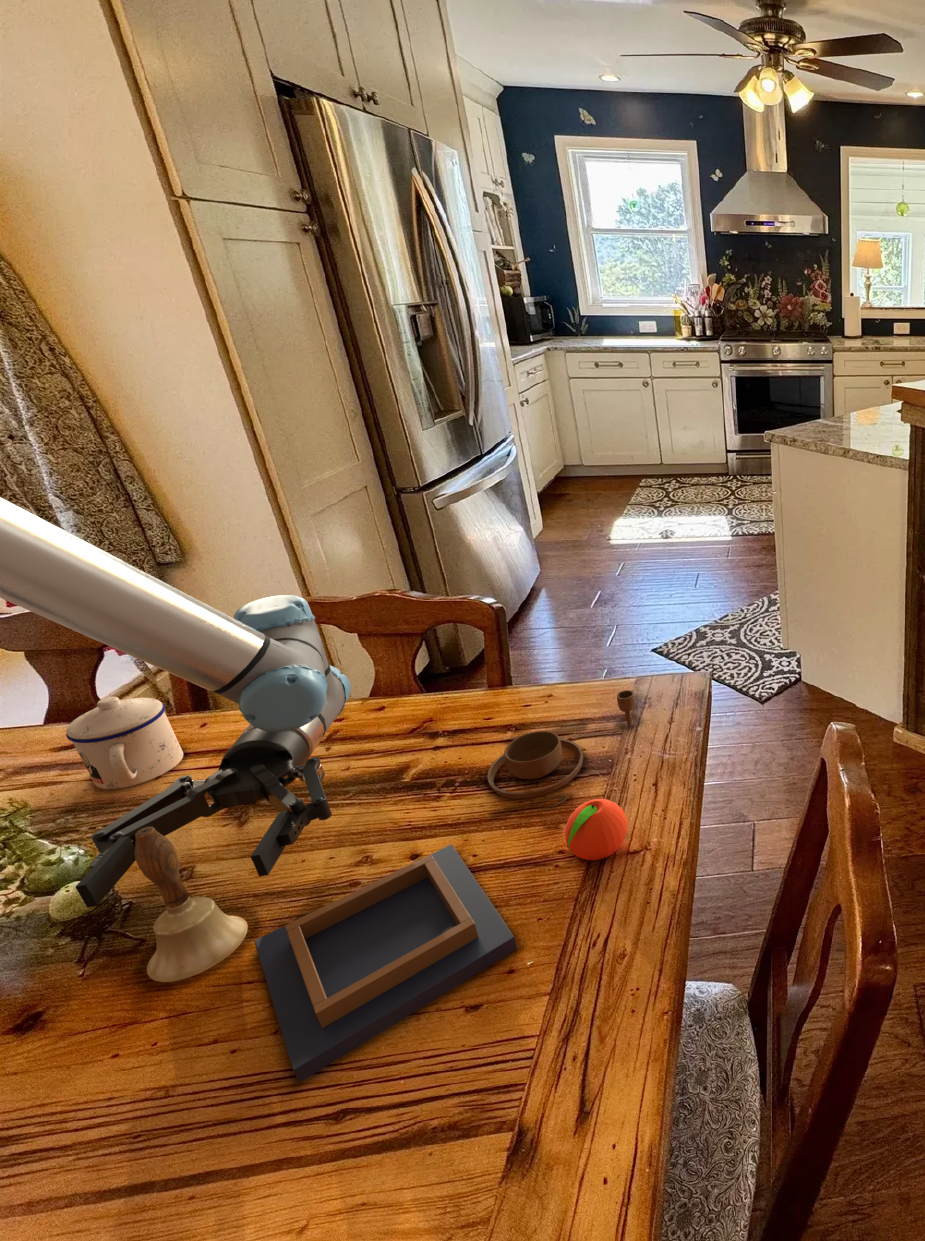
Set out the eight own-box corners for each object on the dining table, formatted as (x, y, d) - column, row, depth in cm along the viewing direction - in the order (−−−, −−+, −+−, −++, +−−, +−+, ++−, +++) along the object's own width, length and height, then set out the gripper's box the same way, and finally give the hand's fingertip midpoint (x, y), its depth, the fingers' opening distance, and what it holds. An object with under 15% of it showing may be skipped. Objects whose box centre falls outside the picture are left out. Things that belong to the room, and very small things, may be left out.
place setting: (494, 746, 103) (486, 712, 101) (638, 718, 110) (633, 686, 108) (484, 827, 88) (475, 790, 86) (650, 788, 96) (646, 753, 93)
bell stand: (262, 957, 71) (247, 925, 70) (456, 859, 84) (447, 830, 82) (302, 1088, 60) (285, 1055, 58) (518, 954, 73) (510, 922, 71)
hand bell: (250, 904, 77) (197, 789, 71) (260, 954, 72) (203, 833, 65) (144, 950, 72) (76, 829, 65) (146, 1007, 66) (72, 882, 60)
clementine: (598, 887, 81) (590, 840, 78) (549, 870, 83) (539, 823, 80) (642, 838, 88) (635, 793, 85) (596, 824, 89) (588, 779, 87)
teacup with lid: (99, 767, 96) (62, 695, 92) (189, 743, 102) (158, 673, 97) (85, 817, 88) (43, 741, 83) (184, 787, 93) (150, 714, 89)
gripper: (397, 757, 92) (336, 881, 74) (159, 791, 85) (26, 939, 67) (382, 709, 89) (315, 825, 71) (135, 741, 82) (-12, 880, 64)
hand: (175, 881), depth 69 cm, fingers open, 13 cm apart
